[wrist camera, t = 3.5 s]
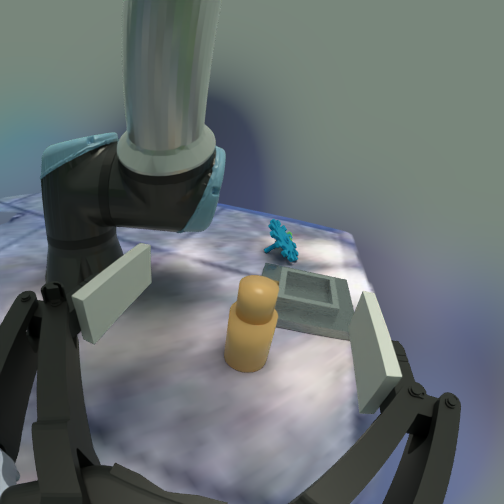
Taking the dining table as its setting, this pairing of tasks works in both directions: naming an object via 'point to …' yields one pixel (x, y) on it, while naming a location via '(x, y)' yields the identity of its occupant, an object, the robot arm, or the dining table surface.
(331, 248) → the dining table surface
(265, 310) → the stacked tan cylinders
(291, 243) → the gear
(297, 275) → the junction box
